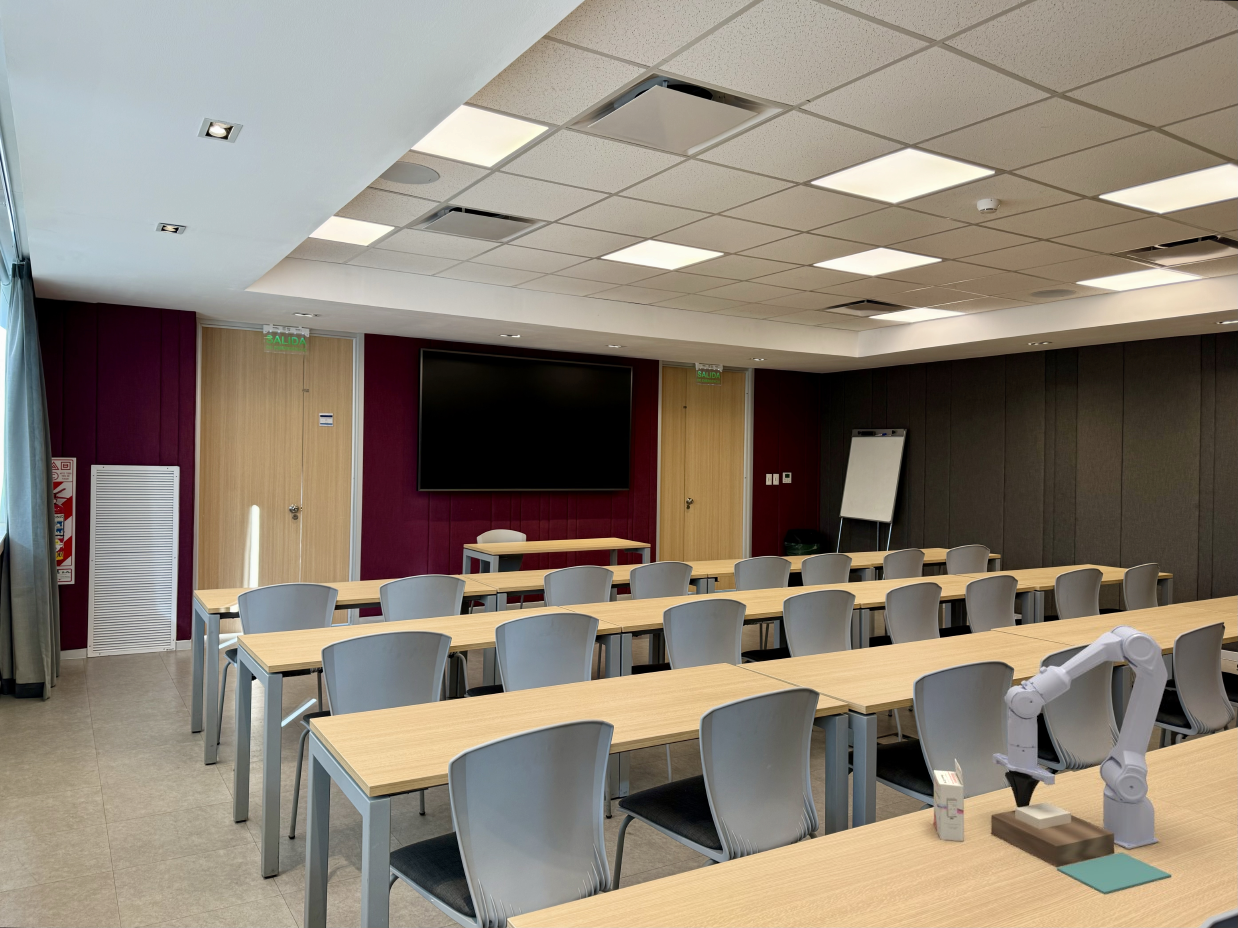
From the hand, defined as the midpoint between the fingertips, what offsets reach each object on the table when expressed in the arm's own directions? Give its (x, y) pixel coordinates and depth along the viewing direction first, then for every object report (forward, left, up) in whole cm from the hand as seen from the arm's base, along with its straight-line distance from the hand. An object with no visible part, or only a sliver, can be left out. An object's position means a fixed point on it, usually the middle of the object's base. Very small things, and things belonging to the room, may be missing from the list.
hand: (1022, 807), depth 179 cm
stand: (0, +7, -5) cm, 9 cm away
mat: (0, +21, -5) cm, 22 cm away
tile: (0, +5, 0) cm, 5 cm away
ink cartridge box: (+16, -5, -5) cm, 18 cm away
